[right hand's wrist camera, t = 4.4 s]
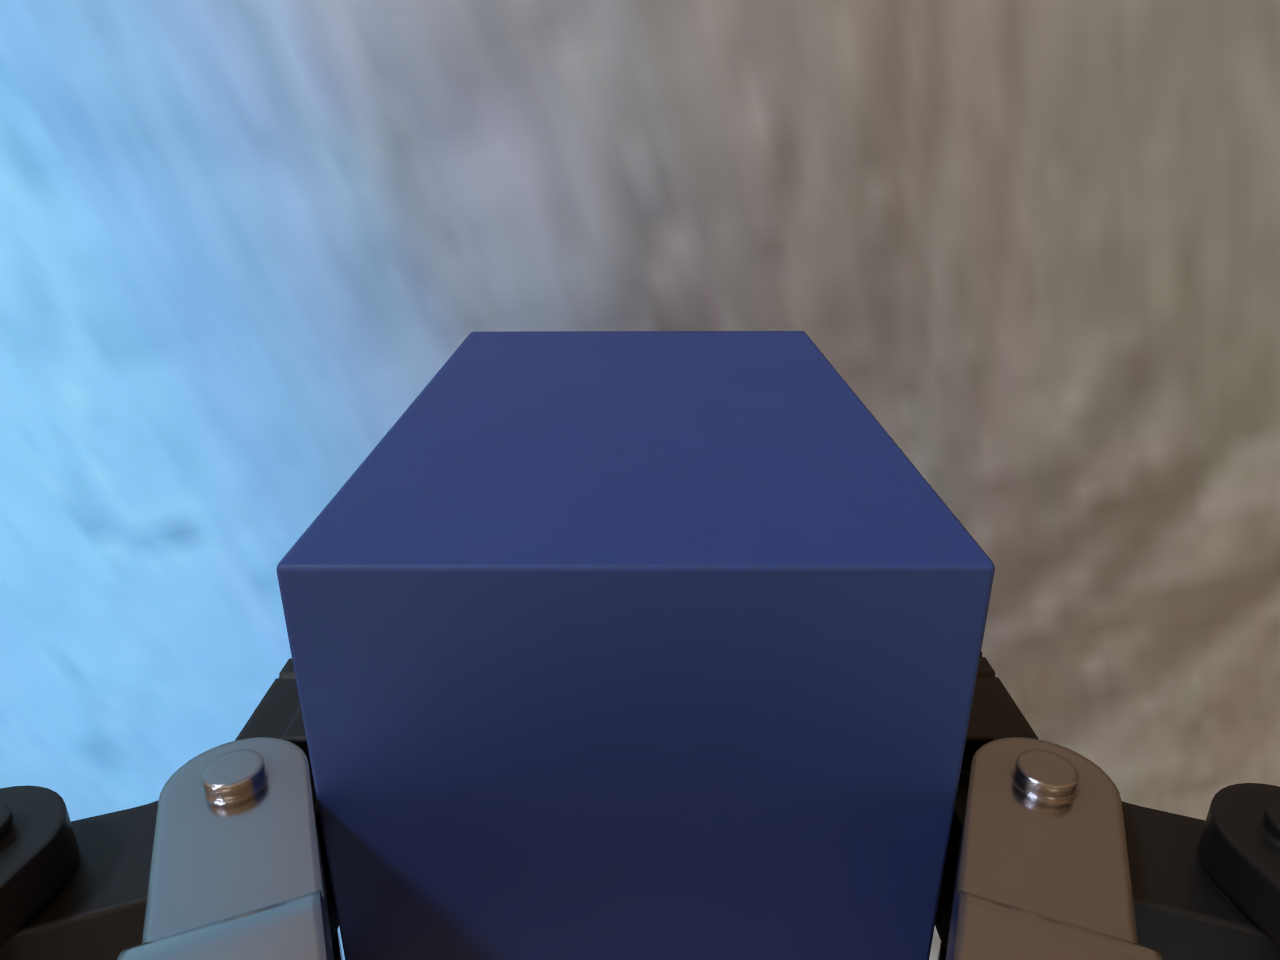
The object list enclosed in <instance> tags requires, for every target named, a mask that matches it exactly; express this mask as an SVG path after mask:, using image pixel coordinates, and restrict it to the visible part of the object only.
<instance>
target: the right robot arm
mask: <svg viewBox="0 0 1280 960" xmlns="http://www.w3.org/2000/svg"><path fill="white" fill-rule="evenodd" d="M279 674H280V676H279V679H276V680H275V681H274V683H273V684H272V686H271V687H270V689H269V690H268V692H267V693H266V695H265V696H264V698H263V699H262V701H261V702H260V704H259V705H258V707H257V708H256V710H255V711H254V713H253V714H252V716H251V717H250V719H249V720H248V722H247V723H246V725H245V726H244V728H243V729H242V731H241V732H240V734H239V735H238V737H237V738H236V740H235V741H233V742H229V743H226V744H222V745H220V746H217V747H215V748H212V749H210V750H208V751H206V752H204V753H202V754H200V755H198V756H196V757H195V758H193V759H191V760H190V761H188V762H187V763H186V764H184V765H183V766H182V767H180V768H179V769H178V770H177V771H176V772H175V773H174V774H173V775H172V776H171V777H170V779H169V780H168V781H167V782H166V784H165V785H164V787H163V789H162V791H161V793H160V797H159V800H158V801H156V802H153V803H150V804H147V805H143V806H139V807H135V808H131V809H127V810H122V811H117V812H113V813H108V814H104V815H99V816H95V817H90V818H86V819H81V820H77V821H72V822H71V821H70V818H69V815H68V812H67V808H66V805H65V803H64V801H63V799H62V797H61V796H60V795H58V794H57V793H56V792H54V791H52V790H50V789H47V788H43V787H38V786H14V787H8V788H1V789H0V960H343V957H342V952H341V946H340V940H339V934H338V927H339V921H338V915H337V909H336V904H335V898H334V892H333V887H332V881H331V875H330V870H329V864H328V858H327V853H326V847H325V841H324V836H323V830H322V824H321V819H320V813H319V807H318V802H317V796H316V790H315V785H314V779H313V773H312V768H311V762H310V756H309V751H308V745H307V739H306V734H305V728H304V722H303V717H302V711H301V705H300V700H299V694H298V688H297V683H296V677H295V671H294V666H293V660H292V659H289V660H288V661H287V663H286V664H285V666H284V667H283V669H282V670H281V672H280V673H279ZM935 926H936V929H937V931H938V934H939V937H940V939H941V940H940V946H939V952H938V957H937V960H1280V787H1278V786H1273V785H1267V784H1257V783H1244V784H1235V785H1231V786H1228V787H1226V788H1223V789H1221V790H1220V791H1219V792H1218V793H1217V794H1215V796H1214V798H1213V800H1212V802H1211V805H1210V809H1209V812H1208V815H1207V818H1206V821H1204V820H1200V819H1195V818H1191V817H1186V816H1182V815H1177V814H1173V813H1168V812H1163V811H1159V810H1154V809H1150V808H1145V807H1141V806H1137V805H1133V804H1129V803H1125V802H1122V801H1121V797H1120V793H1119V791H1118V789H1117V787H1116V785H1115V784H1114V782H1113V781H1112V780H1111V779H1110V777H1109V776H1108V775H1107V774H1106V773H1105V772H1104V771H1103V770H1102V769H1101V768H1100V767H1098V766H1097V765H1096V764H1094V763H1093V762H1092V761H1090V760H1089V759H1087V758H1085V757H1084V756H1082V755H1080V754H1078V753H1076V752H1074V751H1072V750H1070V749H1068V748H1065V747H1063V746H1060V745H1058V744H1054V743H1051V742H1047V741H1044V740H1039V739H1038V737H1037V736H1036V734H1035V733H1034V731H1033V730H1032V728H1031V727H1030V725H1029V724H1028V722H1027V721H1026V719H1025V718H1024V716H1023V715H1022V713H1021V711H1020V710H1019V708H1018V707H1017V705H1016V704H1015V702H1014V701H1013V699H1012V698H1011V696H1010V695H1009V693H1008V692H1007V690H1006V689H1005V687H1004V685H1003V684H1002V682H1001V681H1000V679H999V678H998V677H995V672H994V670H993V669H992V667H991V666H990V664H989V662H988V661H987V659H986V658H985V657H982V652H981V653H980V659H979V665H978V671H977V677H976V683H975V689H974V695H973V701H972V707H971V713H970V719H969V725H968V730H967V736H966V742H965V748H964V754H963V760H962V766H961V772H960V778H959V784H958V790H957V796H956V802H955V808H954V814H953V819H952V825H951V831H950V837H949V843H948V849H947V855H946V861H945V867H944V873H943V879H942V885H941V891H940V897H939V903H938V908H937V914H936V920H935Z"/></svg>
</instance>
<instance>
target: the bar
mask: <svg viewBox="0 0 1280 960" xmlns="http://www.w3.org/2000/svg"><path fill="white" fill-rule="evenodd" d="M994 570H995V567H994V564H993V562H992V561H991V560H990V558H989V557H988V556H987V555H986V553H985V552H984V551H983V550H982V549H981V547H980V546H979V545H978V544H977V542H976V541H975V540H974V539H973V538H972V536H971V535H970V534H969V533H968V531H967V530H966V529H965V528H964V527H963V525H962V524H961V523H960V522H959V520H958V519H957V518H956V517H955V515H954V514H953V513H952V512H951V511H950V509H949V508H948V507H947V506H946V504H945V503H944V502H943V501H942V500H941V498H940V497H939V496H938V495H937V493H936V492H935V491H934V490H933V489H932V487H931V486H930V485H929V484H928V482H927V481H926V480H925V479H924V478H923V476H922V475H921V474H920V473H919V471H918V470H917V469H916V468H915V467H914V465H913V464H912V463H911V462H910V460H909V459H908V458H907V457H906V455H905V454H904V453H903V452H902V451H901V449H900V448H899V447H898V446H897V444H896V443H895V442H894V441H893V440H892V438H891V437H890V436H889V435H888V433H887V432H886V431H885V430H884V429H883V427H882V426H881V425H880V424H879V422H878V421H877V420H876V419H875V418H874V416H873V415H872V414H871V413H870V411H869V410H868V409H867V408H866V407H865V405H864V404H863V403H862V402H861V400H860V399H859V398H858V397H857V396H856V394H855V393H854V392H853V391H852V389H851V388H850V387H849V386H848V384H847V383H846V382H845V381H844V380H843V378H842V377H841V376H840V375H839V373H838V372H837V371H836V370H835V369H834V367H833V366H832V365H831V364H830V362H829V361H828V360H827V359H826V358H825V356H824V355H823V354H822V353H821V351H820V350H819V349H818V348H817V347H816V345H815V344H814V343H813V342H812V340H811V339H810V338H809V337H808V336H807V334H806V333H805V332H803V331H647V332H472V333H470V334H469V336H468V337H467V338H466V339H465V340H464V342H463V343H462V344H461V345H460V346H459V348H458V349H457V350H456V351H455V352H454V354H453V355H452V356H451V357H450V358H449V360H448V361H447V362H446V363H445V364H444V366H443V367H442V368H441V369H440V370H439V372H438V373H437V374H436V375H435V376H434V378H433V379H432V380H431V381H430V382H429V384H428V385H427V386H426V387H425V388H424V390H423V391H422V392H421V393H420V394H419V396H418V397H417V398H416V399H415V400H414V402H413V403H412V404H411V405H410V406H409V408H408V409H407V410H406V411H405V412H404V414H403V415H402V416H401V417H400V418H399V420H398V421H397V422H396V423H395V424H394V426H393V427H392V428H391V429H390V430H389V432H388V433H387V434H386V435H385V436H384V438H383V439H382V440H381V441H380V442H379V444H378V445H377V446H376V447H375V448H374V450H373V451H372V452H371V453H370V454H369V456H368V457H367V458H366V459H365V460H364V462H363V463H362V464H361V465H360V466H359V468H358V469H357V470H356V471H355V472H354V474H353V475H352V476H351V477H350V478H349V480H348V481H347V482H346V483H345V484H344V486H343V487H342V488H341V489H340V490H339V492H338V493H337V494H336V495H335V496H334V498H333V499H332V500H331V501H330V502H329V504H328V505H327V506H326V507H325V508H324V510H323V511H322V512H321V513H320V514H319V516H318V517H317V518H316V519H315V520H314V522H313V523H312V524H311V525H310V526H309V528H308V529H307V530H306V531H305V532H304V534H303V535H302V536H301V537H300V538H299V540H298V541H297V542H296V543H295V544H294V546H293V547H292V548H291V549H290V550H289V552H288V553H287V554H286V555H285V556H284V558H283V559H282V560H281V561H280V562H279V564H278V566H277V575H278V581H279V586H280V592H281V598H282V603H283V609H284V615H285V620H286V626H287V632H288V637H289V643H290V649H291V654H292V660H293V666H294V671H295V677H296V683H297V688H298V694H299V700H300V705H301V711H302V717H303V722H304V728H305V734H306V739H307V745H308V751H309V756H310V762H311V768H312V773H313V779H314V785H315V790H316V796H317V802H318V807H319V813H320V819H321V824H322V830H323V836H324V841H325V847H326V853H327V858H328V864H329V870H330V875H331V881H332V887H333V892H334V898H335V904H336V909H337V915H338V921H339V926H340V932H341V938H342V943H343V949H344V955H345V960H929V956H930V950H931V944H932V938H933V932H934V926H935V920H936V914H937V908H938V903H939V897H940V891H941V885H942V879H943V873H944V867H945V861H946V855H947V849H948V843H949V837H950V831H951V825H952V819H953V814H954V808H955V802H956V796H957V790H958V784H959V778H960V772H961V766H962V760H963V754H964V748H965V742H966V736H967V730H968V725H969V719H970V713H971V707H972V701H973V695H974V689H975V683H976V677H977V671H978V665H979V659H980V653H981V647H982V642H983V636H984V630H985V624H986V618H987V612H988V606H989V600H990V594H991V588H992V582H993V576H994Z"/></svg>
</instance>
